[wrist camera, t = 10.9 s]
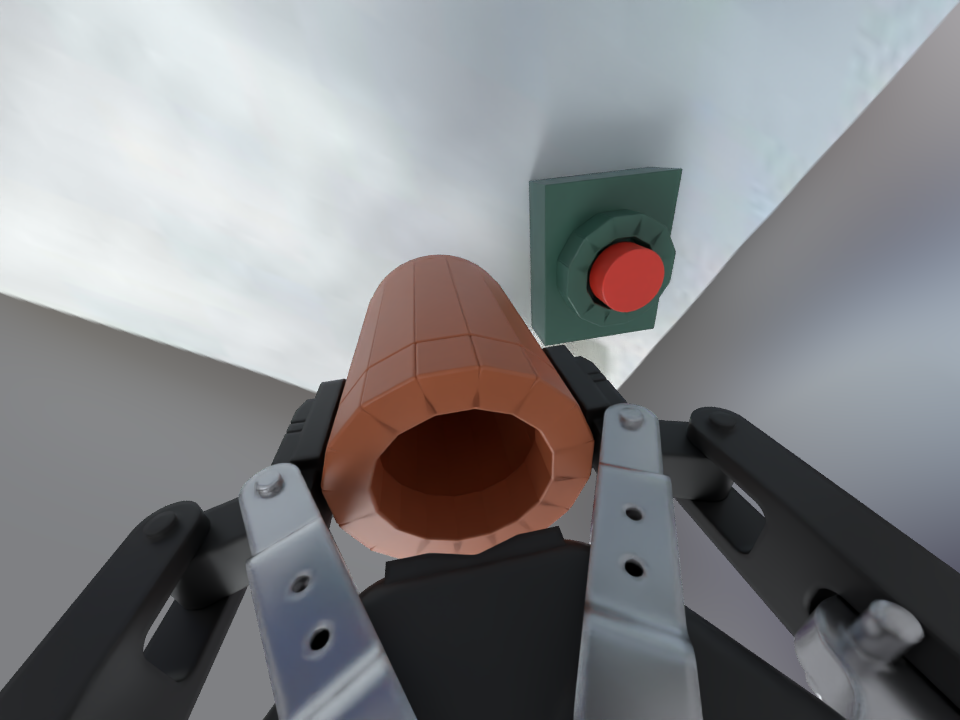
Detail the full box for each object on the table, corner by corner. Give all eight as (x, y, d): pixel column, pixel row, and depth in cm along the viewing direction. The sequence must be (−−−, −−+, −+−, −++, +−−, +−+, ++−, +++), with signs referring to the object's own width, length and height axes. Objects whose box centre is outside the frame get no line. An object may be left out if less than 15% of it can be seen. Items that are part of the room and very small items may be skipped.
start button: (590, 245, 20) (605, 253, 18) (651, 237, 20) (670, 244, 19) (586, 305, 22) (599, 316, 20) (642, 297, 22) (659, 307, 20)
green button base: (528, 181, 22) (556, 187, 18) (650, 166, 23) (705, 169, 18) (531, 326, 27) (553, 359, 23) (630, 311, 28) (669, 340, 23)
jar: (351, 264, 15) (274, 398, 7) (504, 245, 15) (606, 345, 7) (386, 392, 18) (363, 583, 10) (510, 371, 19) (584, 536, 11)
